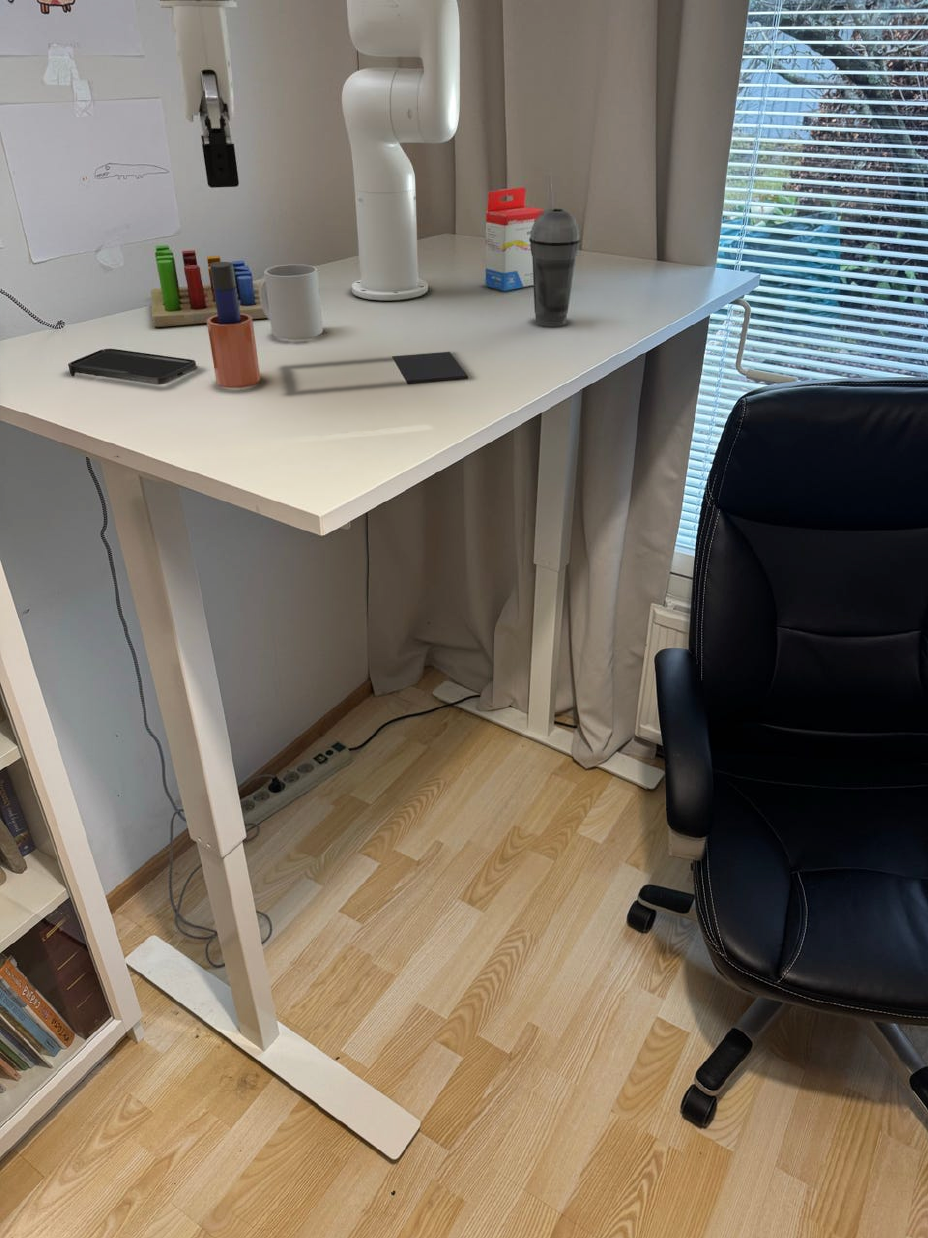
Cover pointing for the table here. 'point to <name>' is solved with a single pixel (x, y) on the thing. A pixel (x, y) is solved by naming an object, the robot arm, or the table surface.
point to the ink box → (509, 240)
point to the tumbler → (234, 352)
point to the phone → (132, 366)
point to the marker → (225, 292)
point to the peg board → (197, 291)
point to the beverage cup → (553, 263)
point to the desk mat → (429, 367)
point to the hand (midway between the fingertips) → (222, 180)
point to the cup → (292, 301)
